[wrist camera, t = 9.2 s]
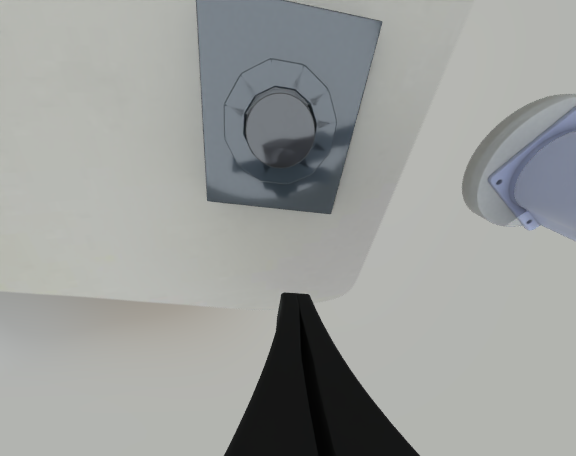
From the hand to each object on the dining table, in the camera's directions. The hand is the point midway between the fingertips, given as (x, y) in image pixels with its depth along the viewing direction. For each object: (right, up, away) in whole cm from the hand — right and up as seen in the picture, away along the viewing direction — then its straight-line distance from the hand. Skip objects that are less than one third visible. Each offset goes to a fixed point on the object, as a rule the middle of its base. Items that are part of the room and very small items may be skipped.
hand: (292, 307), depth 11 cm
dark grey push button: (-1, +10, +2) cm, 10 cm away
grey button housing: (-1, +12, +5) cm, 13 cm away
